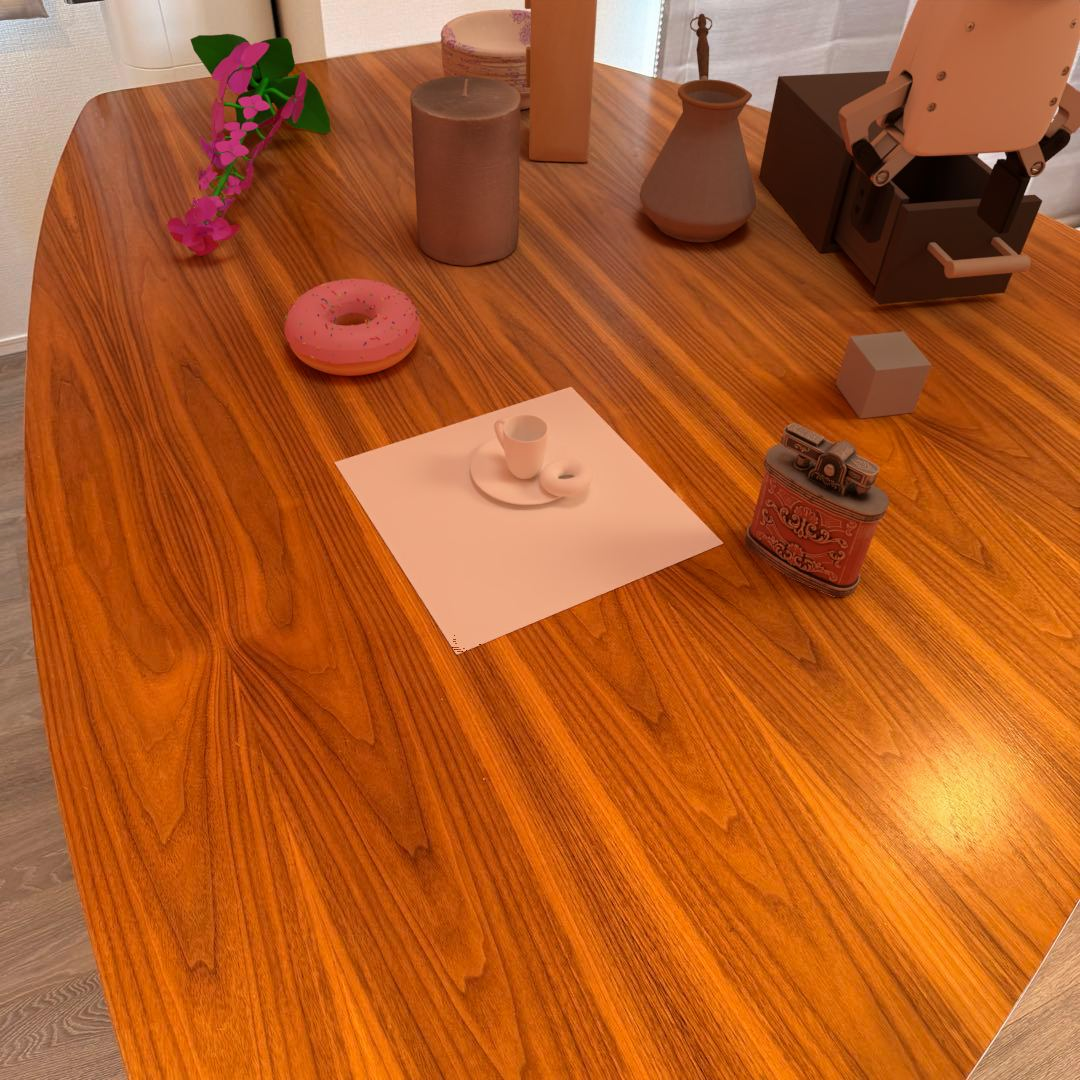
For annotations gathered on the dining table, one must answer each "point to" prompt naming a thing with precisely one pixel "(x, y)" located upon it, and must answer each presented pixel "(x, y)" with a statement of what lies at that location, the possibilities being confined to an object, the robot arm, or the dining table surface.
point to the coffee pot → (702, 161)
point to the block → (882, 374)
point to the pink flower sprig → (244, 123)
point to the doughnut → (352, 327)
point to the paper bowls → (489, 47)
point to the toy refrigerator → (560, 78)
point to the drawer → (936, 233)
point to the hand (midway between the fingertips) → (928, 229)
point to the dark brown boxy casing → (813, 148)
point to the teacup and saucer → (521, 515)
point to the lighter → (816, 511)
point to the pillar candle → (466, 168)
